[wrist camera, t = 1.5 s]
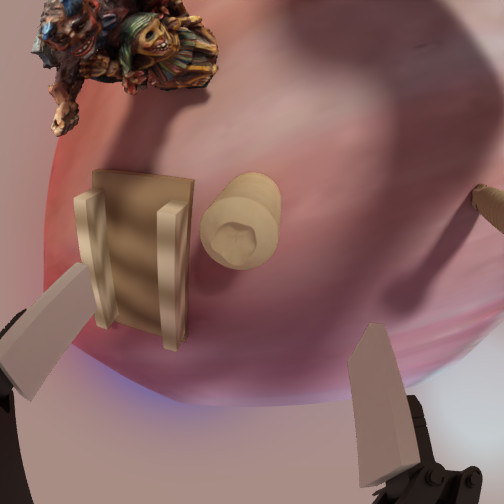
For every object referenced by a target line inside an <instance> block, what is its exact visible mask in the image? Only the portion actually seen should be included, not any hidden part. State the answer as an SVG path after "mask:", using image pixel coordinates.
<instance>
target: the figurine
mask: <svg viewBox="0 0 504 504" xmlns="http://www.w3.org/2000/svg"><path fill="white" fill-rule="evenodd" d="M188 16H189V14H188V12H187V11H186V9H185V7H184V6H183V3H182V0H49V1H48V2H47V3H44V10H43V13H42V15H41V24H40V26H41V28H40V26H38V28H40V29H39V31H38V33H37V35H36V39H35V41H34V45H33V46H32V51H31V53H34V54H37V55H39V57H40V58H41V59H42V60H43V62H44V64H43V68H49V69H50V68H52V67H56V68H57V73H56V77H55V78H56V80H55V83H54V84H53V85H51V87H50V85H48V87H49V93H50V94H51V95H52V96H53V98H54V100H55V101H56V103H57V104H58V105H59V107H58V108H57V109H56V114H55V116H54V120H53V123H52V126H51V130H52V131H53V132H54V133H55V135H56V136H57V137H59V136H62V135H65V134H66V133H67V132H68V131H70V130H72V129H73V127H74V126H75V125H77V124H78V120H79V115H77V114H78V112H79V109H77V108H78V106H79V105H78V104H77V103H76V102H75V101H76V98H77V94H78V93H79V92H80V91H81V88H82V84H83V83H84V80H85V79H89V78H90V79H92V80H96V81H100V82H104V83H114V82H122V86H124V87H125V88H124V91H125V92H126V93H127V94H131V95H136V94H137V93H138V87H139V88H141V89H143V90H144V89H147V80H148V79H149V80H151V83H152V84H151V85H156V86H155V87H157V88H160V89H161V90H165V91H169V90H172V89H177V88H188V89H192V88H204V87H206V86H207V85H208V82H209V80H211V79H212V77H213V75H214V74H215V73H216V72H217V70H218V66H217V65H215V64H216V58H217V55H218V49H217V48H218V46H217V43H216V40H215V38H214V37H215V36H213V34H212V32H210V30H209V29H208V28H207V29H205V28H204V26H203V25H202V24H201V21H202V18H201V17H200V16H189V18H188ZM184 25H185V26H184ZM147 74H149V77H148V75H147ZM149 83H150V81H149Z"/></svg>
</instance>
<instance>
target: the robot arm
mask: <svg viewBox="0 0 504 504" xmlns="http://www.w3.org/2000/svg"><path fill="white" fill-rule="evenodd" d="M97 309H98V308H97V304H96V300H95V296H94V292H93V288H92V283H91V278H90V273H89V268H88V265H85V264H81V263H78V262H76V263H75V264H74V265H73V266H72V267H71V268H70V269H69V270H68V271H66V272H65V273H64V274H63V275H62V276H61V277H60V278H59V279H58V280H57V281H56V282H55V283H54V284H52V285H51V286H50V287H49V288H48V289H47V290H46V291H45V292H44V293H43V294H42V295H41V296H40V297H39V298H38V299H37V300H36V301H35V302H34V303H33V304H32V305H31V306H30V308H28V309H25V310H23V311H21V312H19V313H18V314H16V316H15V317H14V318H13V319H12V320H11V321H10V323H8V324H7V325H6V326H5V329H3V330H2V331H1V332H0V504H34V503H33V500H32V497H31V494H30V490H29V487H28V483H27V480H26V476H25V471H24V467H23V462H22V458H21V453H20V447H19V441H18V434H17V428H16V427H17V426H16V418H15V406H14V394H13V391H12V388H13V387H15V388H16V390H17V391H18V392H19V394H20V395H22V396H23V397H24V398H26V399H27V400H29V401H30V402H31V401H32V399H33V398H34V396H35V395H36V393H37V391H38V390H39V388H40V387H41V385H42V384H43V382H44V381H45V379H46V378H47V376H48V375H49V373H50V372H51V371H52V369H53V368H54V366H55V365H56V363H57V362H58V361H59V359H60V358H61V356H62V355H63V354H64V352H65V351H66V349H67V348H68V347H69V345H70V344H71V343H72V341H73V340H74V339H75V337H76V336H77V335H78V333H79V332H80V331H81V329H82V328H83V327H84V326H85V324H86V323H87V322H88V320H89V319H90V318H91V317H92V315H93V314H94V313H95V312H96V310H97ZM347 365H348V371H349V378H350V385H351V393H352V400H353V408H354V418H355V427H356V438H357V449H358V464H359V485H360V488H363V487H372V486H378V485H379V484H382V483H384V482H386V487H384V488H382V489H380V490H378V491H376V492H375V493H374V494H372V495H373V496H375V495H378V494H379V495H378V497H377V498H376V499H375V501H374V502H373V503H372V504H478V502H479V497H480V492H481V486H482V473H481V471H480V469H479V468H477V467H475V466H470V467H468V468H467V469H465V470H463V471H450V470H445V468H444V467H443V466H442V465H441V464H439V463H436V462H435V460H434V456H433V452H432V447H431V442H430V437H429V433H428V429H427V427H426V421H425V418H424V413H423V409H422V406H421V404H420V402H419V401H418V399H417V398H416V396H415V395H406V393H405V389H404V386H403V382H402V378H401V375H400V372H399V368H398V365H397V362H396V358H395V355H394V352H393V349H392V346H391V343H390V340H389V337H388V334H387V331H386V328H385V325H384V324H377V323H369V324H368V326H367V328H366V330H365V332H364V334H363V336H362V337H361V339H360V341H359V343H358V345H357V346H356V348H355V350H354V352H353V353H352V355H351V357H350V358H349V360H348V362H347Z"/></svg>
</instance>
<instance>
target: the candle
mask: <svg viewBox="0 0 504 504" xmlns="http://www.w3.org/2000/svg"><path fill="white" fill-rule="evenodd" d="M280 215H281V194H280V191H279V189H278V187H277V185H276V184H275V183H274V182H273V181H272V180H271V179H270V178H269V177H267V176H265V175H263V174H260V173H255V172H250V173H244V174H241V175H239V176H237V177H236V178H234V179H233V180H232V181H231V182H230V183H229V184H228V185H227V186H226V188H225V189H224V190H223V191H222V192H221V193H220V195H219V196H218V197H217V198H216V199H215V201H214V202H213V203H212V204H211V205H210V207H209V208H208V209H207V210H206V212H205V213H204V215H203V217H202V219H201V223H200V230H199V231H200V239H201V242H202V245H203V247H204V249H205V250H206V252H207V253H208V254H209V256H210V257H211V258H212V259H214V260H215V261H216V262H217V263H219V264H221V265H223V266H225V267H228V268H231V269H236V270H248V269H253V268H256V267H258V266H260V265H262V264H264V263H265V262H266V261H268V260H269V259H270V258H271V256H272V255H273V254H274V252H275V250H276V248H277V245H278V240H279V228H280Z"/></svg>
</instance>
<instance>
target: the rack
mask: <svg viewBox="0 0 504 504" xmlns="http://www.w3.org/2000/svg"><path fill="white" fill-rule="evenodd" d="M92 184H93V188H92V189H90V190H88V191H86V192H84V193H82V194H81V195H79V196H77V197H75V198H74V210H75V219H76V227H77V235H78V242H79V248H80V254H81V260H82V264H85V265H88V268H89V273H90V278H91V283H92V288H93V292H94V296H95V300H96V304H97V308H98V309H97V310H96V312H95V313H94V317H95V321H96V324H97V326H99V327H101V328H104V329H107V330H108V328H109V327H110V326H111V324H112V323H113V321H114V322H117V323H120V324H123V325H126V326H129V327H132V328H135V329H139V330H142V331H145V332H148V333H152V334H155V335H158V336H162V340H163V348H164V349H167V350H171V351H175V352H177V350H178V348H179V346H180V343H181V342H184V343H185V342H186V339H187V337H188V274H189V250H190V232H191V217H192V203H193V191H194V180H193V179H186V178H179V177H171V176H164V175H155V174H147V173H138V172H128V171H118V170H106V169H97V170H94V171H92Z"/></svg>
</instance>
